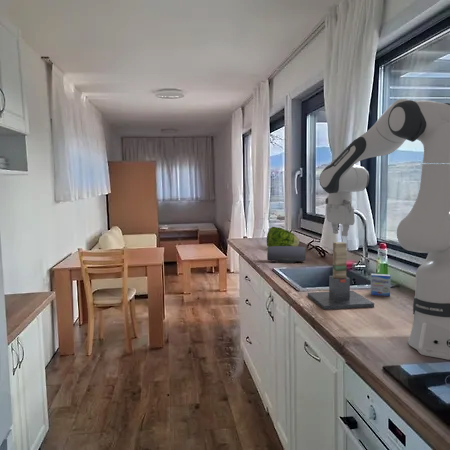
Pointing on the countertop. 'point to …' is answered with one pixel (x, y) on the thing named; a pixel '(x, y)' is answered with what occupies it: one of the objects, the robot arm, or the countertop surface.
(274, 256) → the bluetooth speaker
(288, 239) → the lettuce
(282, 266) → the countertop surface
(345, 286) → the stand
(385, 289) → the medicine box
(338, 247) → the post
